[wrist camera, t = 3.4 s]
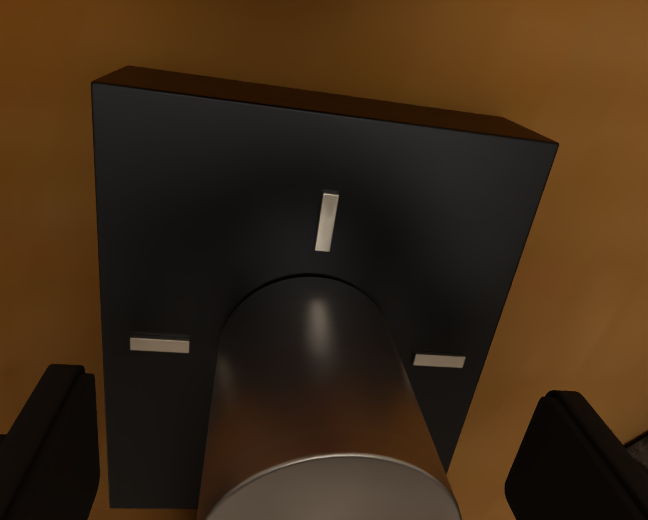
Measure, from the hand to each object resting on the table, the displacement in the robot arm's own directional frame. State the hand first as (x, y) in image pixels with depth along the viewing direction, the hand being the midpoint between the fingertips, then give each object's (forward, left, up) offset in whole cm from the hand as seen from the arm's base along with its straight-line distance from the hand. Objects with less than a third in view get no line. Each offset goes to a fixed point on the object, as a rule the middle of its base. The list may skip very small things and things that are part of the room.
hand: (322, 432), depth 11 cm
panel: (0, 0, -6) cm, 6 cm away
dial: (0, 0, -3) cm, 3 cm away
